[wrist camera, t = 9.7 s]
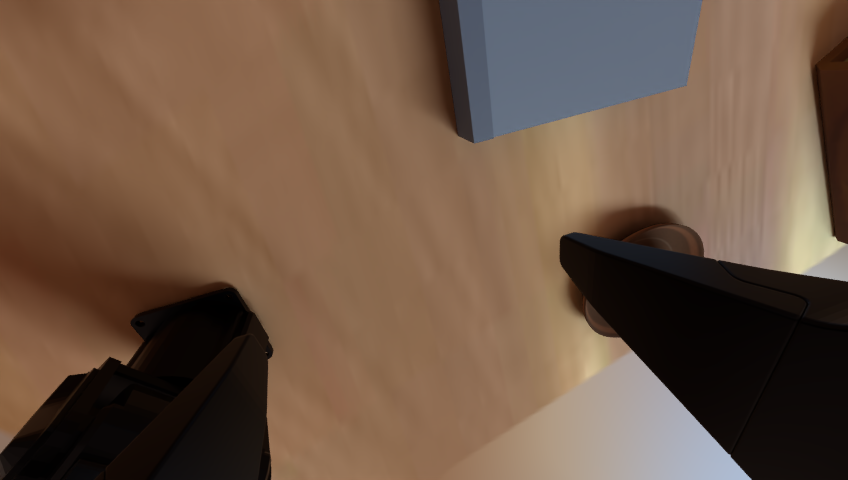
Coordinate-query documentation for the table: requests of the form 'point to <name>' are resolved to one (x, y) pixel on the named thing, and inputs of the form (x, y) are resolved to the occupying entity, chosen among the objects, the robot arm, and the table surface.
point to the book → (560, 57)
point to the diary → (836, 131)
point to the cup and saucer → (657, 237)
